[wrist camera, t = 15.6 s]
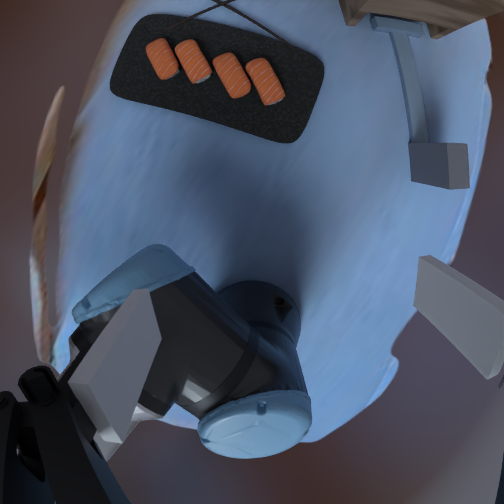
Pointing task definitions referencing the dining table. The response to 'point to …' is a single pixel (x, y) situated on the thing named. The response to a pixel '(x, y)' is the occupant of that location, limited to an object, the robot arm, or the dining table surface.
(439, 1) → the cabinet
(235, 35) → the sushi plate
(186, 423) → the dining table surface
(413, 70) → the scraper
